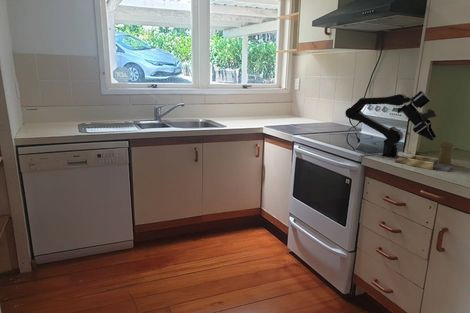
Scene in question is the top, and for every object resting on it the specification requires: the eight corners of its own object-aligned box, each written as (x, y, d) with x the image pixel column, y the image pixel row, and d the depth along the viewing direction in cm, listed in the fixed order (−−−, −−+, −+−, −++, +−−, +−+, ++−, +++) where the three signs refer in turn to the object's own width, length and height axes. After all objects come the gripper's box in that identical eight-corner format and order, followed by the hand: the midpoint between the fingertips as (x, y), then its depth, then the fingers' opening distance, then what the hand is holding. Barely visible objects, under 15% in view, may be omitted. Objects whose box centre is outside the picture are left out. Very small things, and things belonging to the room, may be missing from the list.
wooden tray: (393, 162, 168) (394, 156, 167) (400, 158, 176) (401, 153, 175) (447, 172, 154) (448, 165, 153) (451, 167, 162) (452, 161, 161)
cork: (437, 161, 173) (441, 140, 170) (451, 163, 169) (455, 141, 166) (435, 163, 168) (439, 141, 165) (449, 166, 164) (453, 143, 162)
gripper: (424, 104, 161) (447, 130, 157) (429, 102, 175) (451, 126, 172) (403, 119, 167) (425, 145, 163) (410, 116, 182) (431, 139, 178)
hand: (434, 138), depth 169 cm, fingers open, 9 cm apart
